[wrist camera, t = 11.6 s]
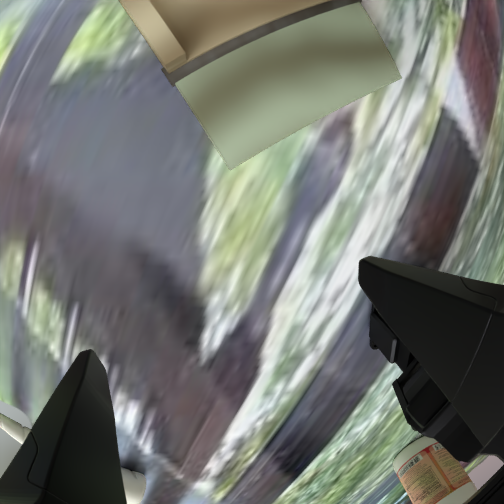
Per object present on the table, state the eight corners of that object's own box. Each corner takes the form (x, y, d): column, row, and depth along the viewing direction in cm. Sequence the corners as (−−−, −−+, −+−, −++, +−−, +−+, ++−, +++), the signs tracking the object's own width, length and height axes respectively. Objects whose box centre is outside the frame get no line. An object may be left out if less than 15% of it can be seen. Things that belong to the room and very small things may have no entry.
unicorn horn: (-26, 379, 22) (-42, 407, 18) (150, 470, 30) (149, 501, 26) (-27, 399, 23) (-41, 425, 19) (136, 482, 31) (135, 511, 27)
